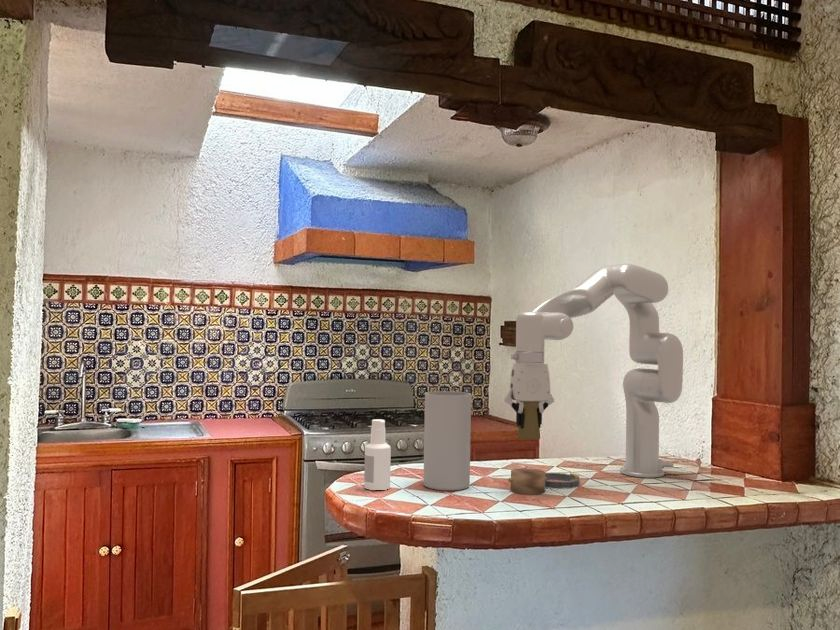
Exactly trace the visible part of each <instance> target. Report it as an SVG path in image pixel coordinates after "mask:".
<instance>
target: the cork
mask: <svg viewBox="0 0 840 630" xmlns="http://www.w3.org/2000/svg"><path fill="white" fill-rule="evenodd" d="M523 405H524V407H523V413H524V415H525V417H524V428H523V429H521V428H520V426H519V427H518V431H517V435H516V436H517V439H521V440H522V439H523V440H539V439H541V433H540V428H539V425H538V415H537V408H538V406H539V402H523Z"/></svg>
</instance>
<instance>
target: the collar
mask: <svg viewBox="0 0 840 630" xmlns="http://www.w3.org/2000/svg"><path fill="white" fill-rule="evenodd" d="M545 477H547V481H545V488H550V487H551V488H552V489H572V488H577V487H579V486H580V475H578V474H577V473H575V472H574V473H569V474H567V473H562V472H561V473H560V472H545ZM557 480H560V481H557Z"/></svg>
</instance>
